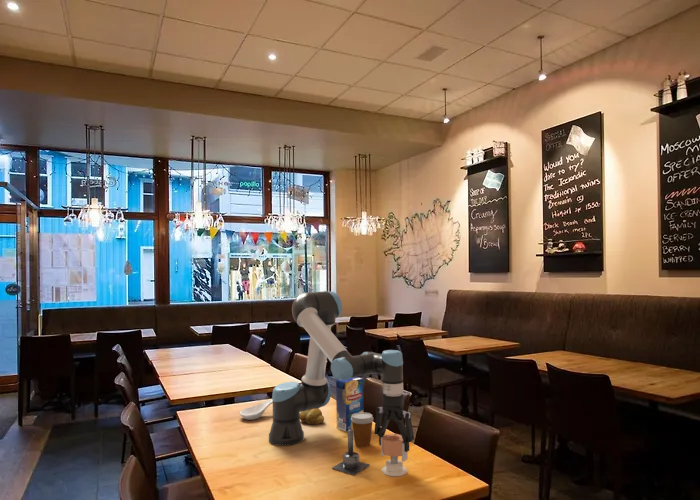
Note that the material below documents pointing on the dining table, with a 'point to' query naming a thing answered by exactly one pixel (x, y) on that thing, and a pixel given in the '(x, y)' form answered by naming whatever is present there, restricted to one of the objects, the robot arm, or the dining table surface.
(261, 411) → the spoon rest
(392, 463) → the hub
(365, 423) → the disposable coffee cup
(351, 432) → the stand
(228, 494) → the dining table surface
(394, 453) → the collar
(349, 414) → the beverage box
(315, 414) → the bread roll
